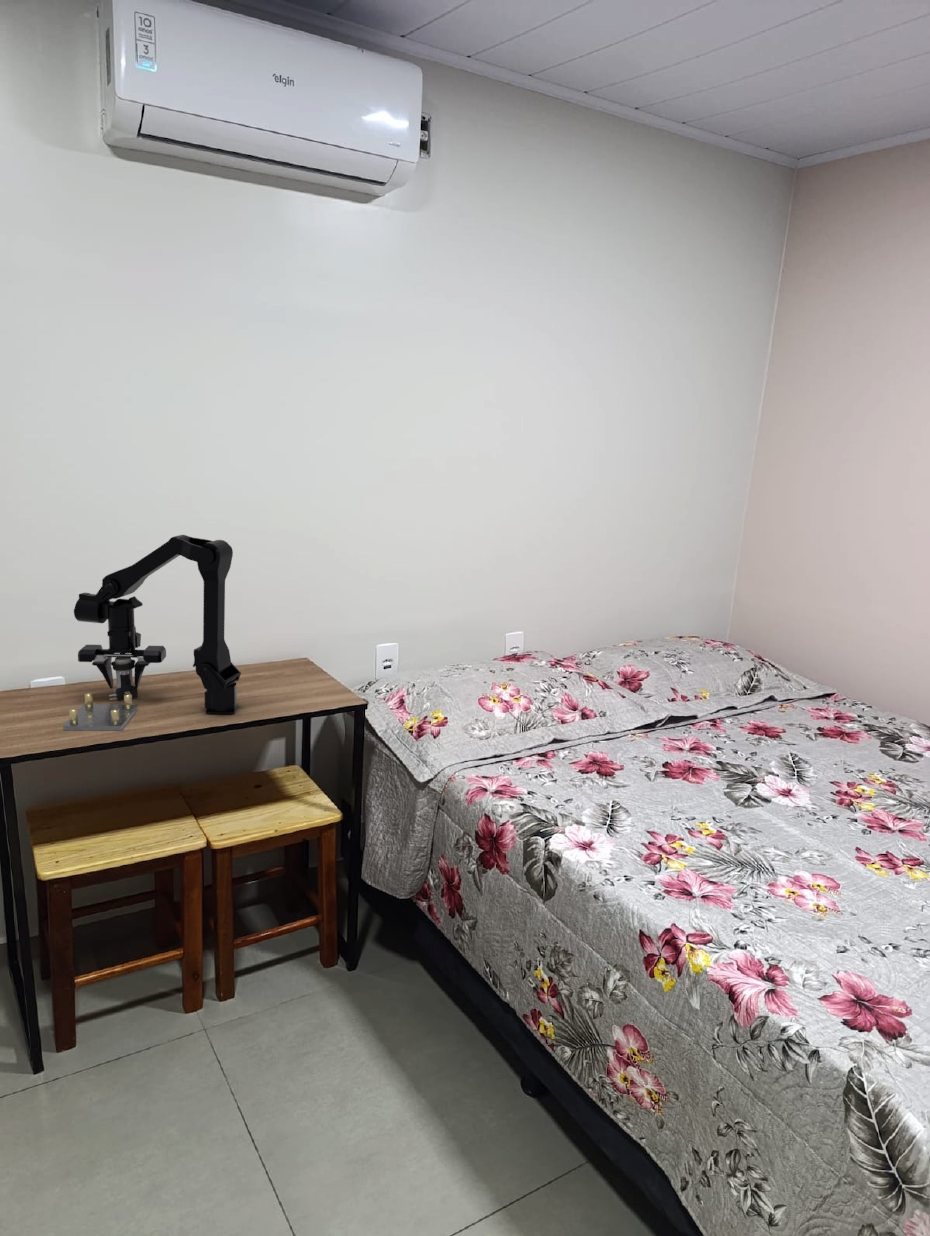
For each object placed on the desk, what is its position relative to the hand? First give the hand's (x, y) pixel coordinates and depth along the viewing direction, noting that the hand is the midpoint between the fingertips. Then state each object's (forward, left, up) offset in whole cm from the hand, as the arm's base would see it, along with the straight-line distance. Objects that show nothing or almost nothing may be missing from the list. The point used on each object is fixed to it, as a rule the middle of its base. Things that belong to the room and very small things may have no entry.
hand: (124, 688), depth 204 cm
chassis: (+1, +14, -3) cm, 14 cm away
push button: (0, 0, -3) cm, 3 cm away
